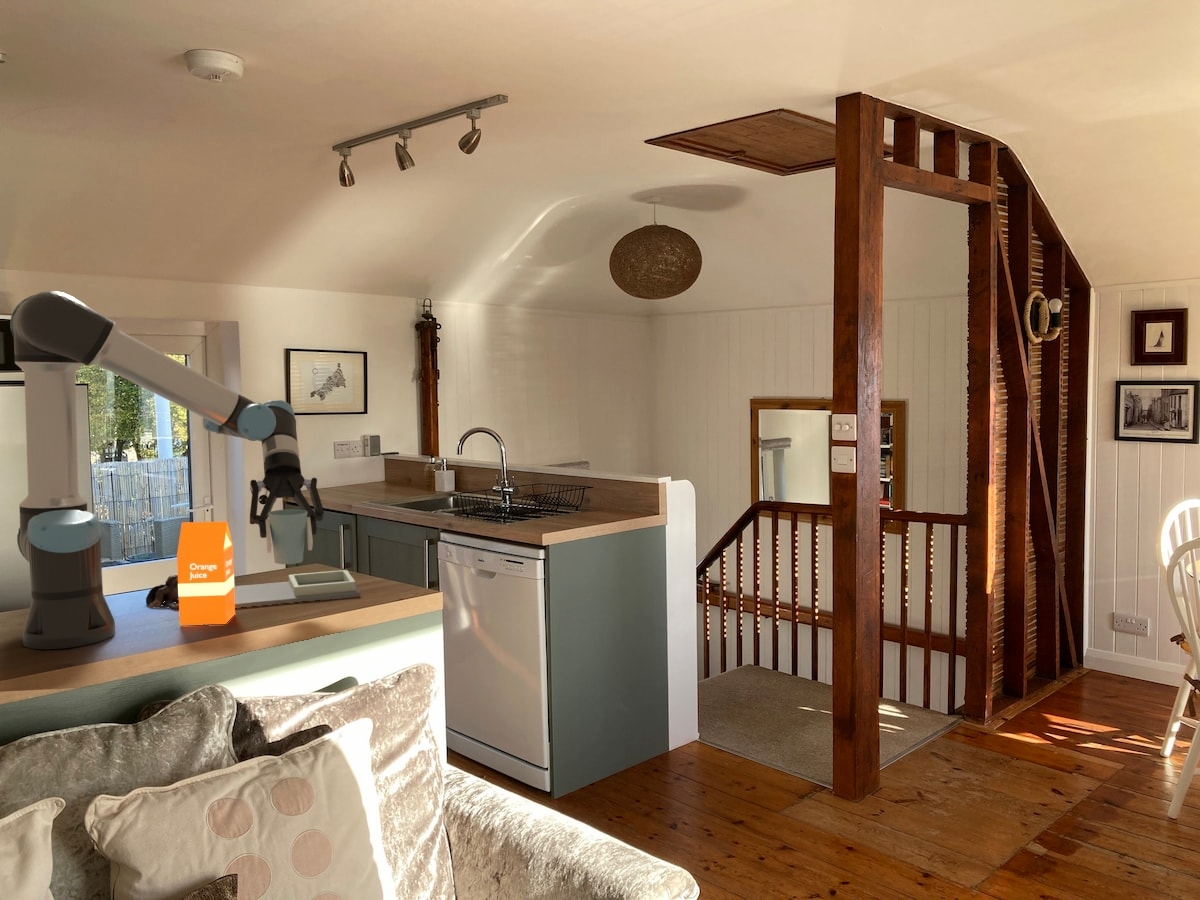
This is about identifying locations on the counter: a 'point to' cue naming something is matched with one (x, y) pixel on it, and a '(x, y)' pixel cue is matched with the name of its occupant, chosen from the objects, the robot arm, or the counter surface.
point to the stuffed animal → (164, 594)
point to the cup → (288, 535)
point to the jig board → (298, 589)
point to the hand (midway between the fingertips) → (290, 547)
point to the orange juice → (205, 574)
